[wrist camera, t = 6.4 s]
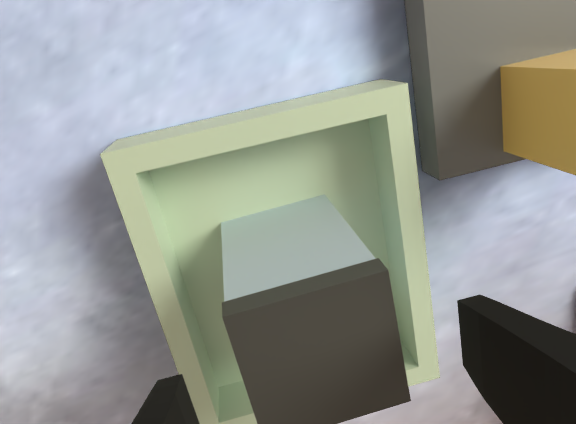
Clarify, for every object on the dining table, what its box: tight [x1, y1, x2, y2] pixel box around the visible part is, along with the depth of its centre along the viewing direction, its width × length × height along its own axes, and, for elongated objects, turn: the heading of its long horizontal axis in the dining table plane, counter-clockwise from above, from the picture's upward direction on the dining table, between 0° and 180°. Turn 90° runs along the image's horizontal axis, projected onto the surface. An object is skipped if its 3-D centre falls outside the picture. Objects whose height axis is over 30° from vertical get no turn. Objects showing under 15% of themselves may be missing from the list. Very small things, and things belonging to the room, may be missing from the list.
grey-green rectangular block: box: [221, 194, 411, 424], centre depth 15 cm, size 4×4×7 cm
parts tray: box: [100, 79, 440, 424], centre depth 17 cm, size 12×10×2 cm
